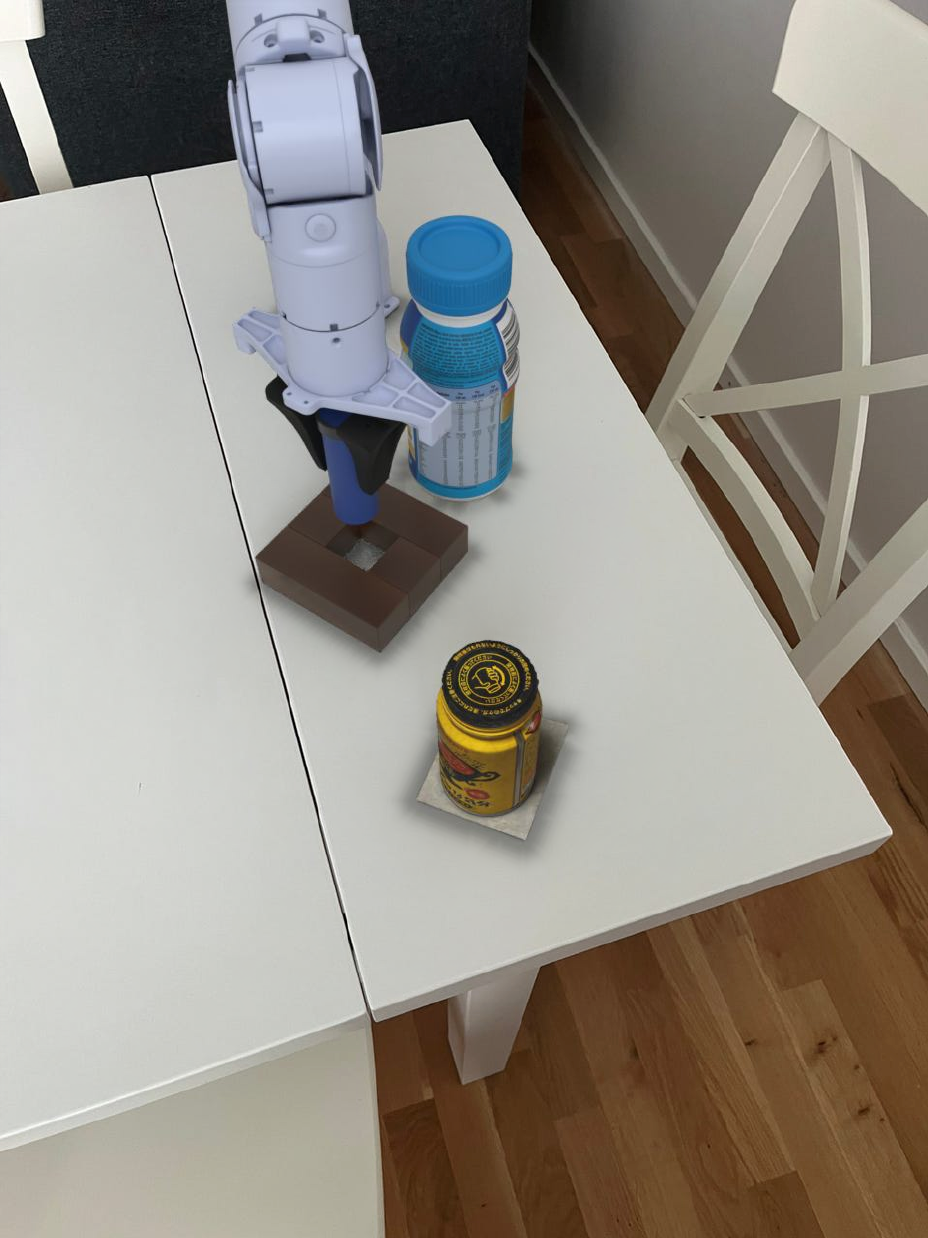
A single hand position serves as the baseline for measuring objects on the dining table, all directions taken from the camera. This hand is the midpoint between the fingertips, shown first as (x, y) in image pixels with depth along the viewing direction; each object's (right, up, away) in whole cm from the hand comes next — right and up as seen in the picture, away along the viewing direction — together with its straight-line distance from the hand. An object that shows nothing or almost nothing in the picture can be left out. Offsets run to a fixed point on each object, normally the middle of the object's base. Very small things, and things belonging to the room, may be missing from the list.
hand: (353, 472), depth 64 cm
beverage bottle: (+7, +2, +14) cm, 16 cm away
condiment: (+9, -19, 0) cm, 21 cm away
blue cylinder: (0, -2, +3) cm, 3 cm away
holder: (0, -6, +8) cm, 10 cm away
